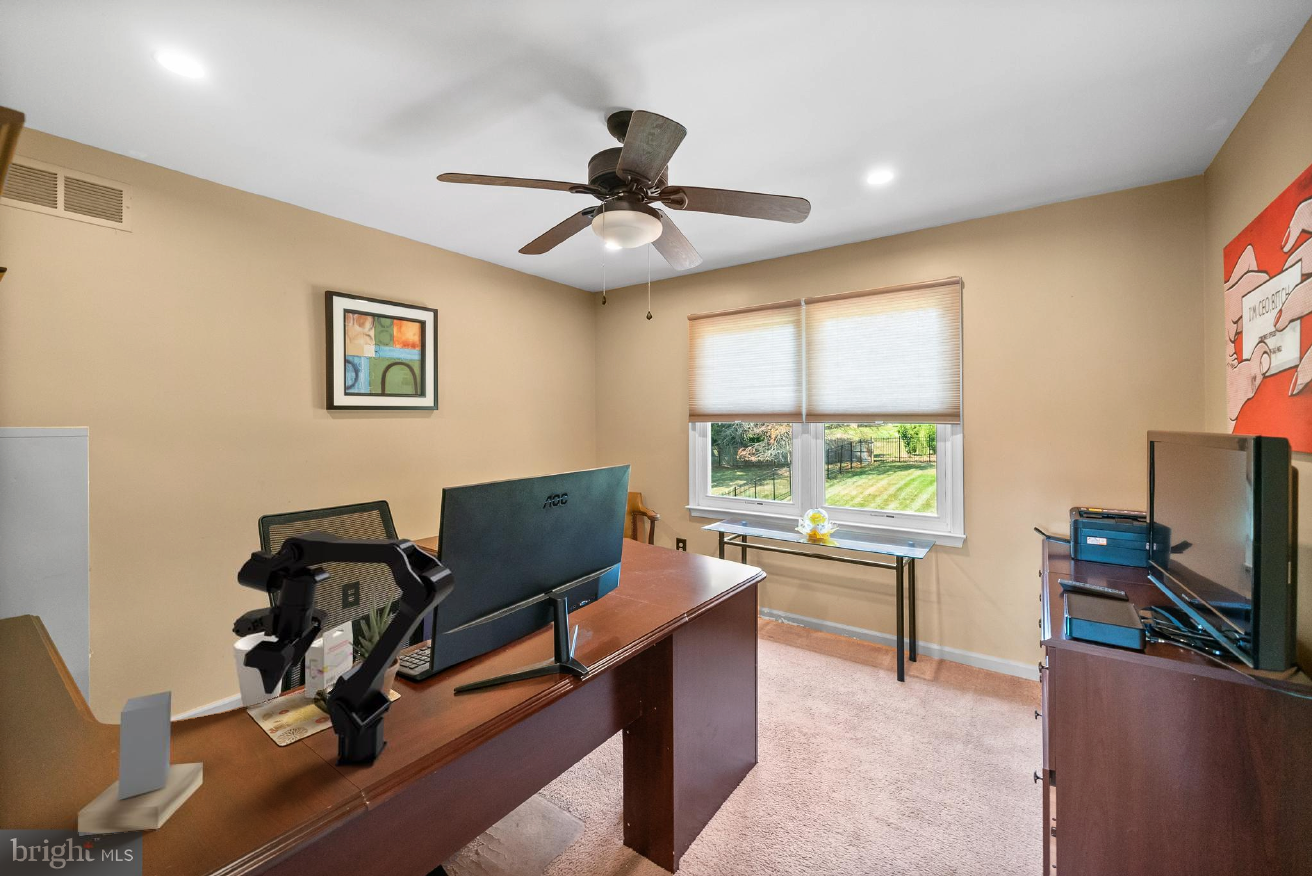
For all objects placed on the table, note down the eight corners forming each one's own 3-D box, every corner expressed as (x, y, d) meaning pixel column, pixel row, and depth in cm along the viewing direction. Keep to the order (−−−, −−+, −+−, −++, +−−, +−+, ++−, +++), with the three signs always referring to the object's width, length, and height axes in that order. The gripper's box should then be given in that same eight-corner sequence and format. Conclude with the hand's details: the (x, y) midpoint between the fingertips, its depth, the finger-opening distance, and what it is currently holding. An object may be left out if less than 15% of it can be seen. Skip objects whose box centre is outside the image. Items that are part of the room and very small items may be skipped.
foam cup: (296, 687, 119) (297, 631, 118) (273, 709, 110) (273, 648, 109) (249, 689, 117) (250, 632, 117) (222, 712, 108) (223, 650, 108)
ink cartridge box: (334, 679, 123) (335, 617, 123) (353, 681, 122) (354, 619, 122) (303, 697, 115) (304, 631, 114) (322, 700, 114) (323, 634, 113)
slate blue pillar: (169, 770, 85) (171, 690, 85) (163, 787, 81) (166, 703, 81) (126, 782, 82) (128, 699, 83) (118, 799, 78) (120, 712, 78)
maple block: (202, 785, 88) (202, 762, 88) (157, 831, 78) (158, 805, 78) (132, 791, 86) (132, 767, 86) (77, 839, 76) (78, 812, 76)
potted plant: (396, 681, 123) (398, 577, 123) (401, 700, 115) (403, 589, 114) (346, 691, 118) (348, 583, 117) (348, 712, 110) (350, 596, 109)
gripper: (274, 575, 105) (261, 649, 105) (215, 615, 86) (200, 704, 87) (335, 583, 107) (321, 656, 108) (290, 623, 89) (274, 710, 90)
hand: (281, 679), depth 98 cm, fingers open, 9 cm apart
